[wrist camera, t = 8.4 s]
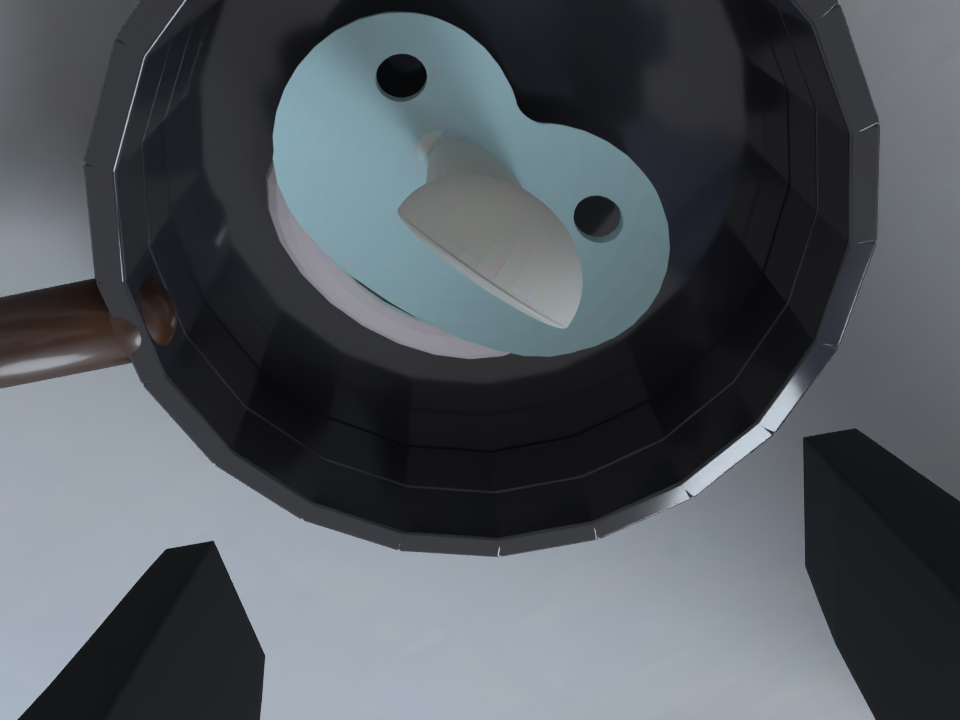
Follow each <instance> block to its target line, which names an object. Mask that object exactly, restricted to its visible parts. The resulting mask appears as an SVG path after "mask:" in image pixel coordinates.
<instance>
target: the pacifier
mask: <svg viewBox="0 0 960 720" xmlns="http://www.w3.org/2000/svg"><path fill="white" fill-rule="evenodd" d="M396 54H409V55H411V56H414V57H416V58H417V59H418V60H420V61H421V62H422V63H423V65H424V67H425V69H426V72H427V80H426V82H425V84H424V86H423V87H422V89H421V90H420V91H419V92H417V93H416V94H414V95H412V96H409V97H404V98H401V97H394V96H391V95H389V94H387V93H386V92H385V91H383V90H382V88H381V87H380V85H379V84H378V81H377V77H376V73H377V69H378V67H379V65H380V64H381V63H382V62H383V61H384V60H385V59H386V58H388V57H390V56H392V55H396ZM273 148H274V152H273V159H272V162H271V164H270V167H269V170H268V173H267V175H266V189H267V209H268V211H269V214H270V217H271V220H272V222H273V225H274V228H275V230H276V233H277V236H278V239H279V241H280V243H281V244H282V246H283V247H284V249H285V250H286V252H287V253H288V254H289V256H290V257H291V259H292V260H293V262H294V263H295V265H296V266H297V268H298V269H299V271H300V272H301V274H302V275H303V276H304V277H305V278H306V279H307V280H308V281H309V282H310V283H311V284H312V285H313V286H314V287H315V288H316V289H317V290H318V291H319V292H320V293H321V294H322V295H323V296H324V297H325V298H326V299H327V300H328V301H329V302H330V303H331V304H333V305H334V306H336V307H337V308H338V309H340V310H341V311H343V312H344V313H345V314H347V315H348V316H350V317H351V318H353V319H354V320H355V321H357V322H358V323H360V324H361V325H362V326H364V327H366V328H368V329H370V330H372V331H374V332H376V333H378V334H380V335H382V336H384V337H386V338H388V339H390V340H392V341H394V342H396V343H398V344H402V345H405V346H408V347H411V348H415V349H418V350H421V351H424V352H428V353H431V354H434V355H441V356H449V357H457V358H465V359H477V358H488V357H499V356H504V355H507V354H510V353H513V354H518V355H522V356H544V357H552V356H557V355H563V354H569V353H574V352H576V351H578V350H582V349H587V348H591V347H595V346H597V345H599V344H601V343H603V342H605V341H607V340H610V339H612V338H615V337H616V336H618V335H619V334H621V333H622V332H623V331H625V330H626V329H628V328H629V327H631V326H632V325H633V324H634V323H635V322H636V321H637V320H638V319H639V318H640V317H641V316H642V315H643V314H644V313H645V312H646V311H647V310H648V308H649V307H650V305H651V304H652V302H653V301H654V299H655V297H656V296H657V294H658V293H659V291H660V288H661V285H662V282H663V279H664V277H665V274H666V271H667V266H668V259H669V252H670V243H669V230H668V222H667V219H666V216H665V213H664V210H663V207H662V204H661V201H660V199H659V196H658V194H657V192H656V190H655V188H654V187H653V185H652V183H651V182H650V181H649V179H648V178H647V177H646V175H645V174H644V173H643V172H642V171H641V170H640V168H639V167H638V166H637V165H636V164H635V163H634V162H633V161H632V160H631V159H630V158H629V157H628V156H627V155H626V154H624V153H623V152H621V151H620V150H619V149H617V148H616V147H614V146H613V145H612V144H610V143H609V142H607V141H605V140H603V139H601V138H599V137H597V136H595V135H593V134H591V133H589V132H587V131H585V130H581V129H577V128H574V127H570V126H567V125H563V124H555V123H544V122H536V121H533V120H531V119H529V118H528V117H526V116H525V115H524V114H523V113H522V112H521V111H520V109H519V108H518V106H517V103H516V99H515V96H514V93H513V90H512V88H511V86H510V84H509V82H508V80H507V79H506V77H505V75H504V73H503V71H502V69H501V68H500V66H499V65H498V64H497V62H496V61H495V60H494V59H493V57H492V56H491V55H490V54H489V52H488V51H487V50H486V49H485V48H484V47H483V46H482V45H481V44H479V43H478V42H477V41H476V40H475V39H473V38H472V37H471V36H470V35H469V34H467V33H466V32H465V31H463V30H462V29H460V28H458V27H456V26H454V25H452V24H450V23H448V22H446V21H443V20H441V19H438V18H436V17H433V16H429V15H426V14H420V13H414V12H401V11H389V12H383V13H378V14H374V15H370V16H366V17H361V18H359V19H357V20H355V21H352V22H350V23H348V24H346V25H344V26H342V27H340V28H338V29H336V30H335V31H334V32H333V33H331V34H330V35H329V36H327V37H326V38H325V39H323V40H322V41H321V42H319V43H318V44H317V45H316V46H315V47H314V48H313V49H312V50H311V51H310V52H309V53H308V54H307V56H306V57H305V58H304V59H303V60H302V61H301V62H300V64H299V65H298V66H297V68H296V70H295V71H294V73H293V75H292V76H291V78H290V80H289V82H288V83H287V85H286V87H285V89H284V91H283V94H282V97H281V100H280V103H279V106H278V108H277V111H276V117H275V124H274V130H273ZM596 195H599V196H603V197H607V198H608V199H610V200H611V201H613V202H614V203H615V204H616V205H617V206H618V207H619V209H620V221H619V224H618V226H617V228H616V229H615V230H614V231H613V232H611V233H610V234H608V235H605V236H602V237H594V236H591V235H587V234H586V233H584V232H582V231H581V230H580V229H579V228H578V227H577V226H576V225H575V222H574V217H573V216H574V211H575V208H576V206H577V205H578V203H579V202H580V201H582V200H583V199H584V198H586V197H589V196H596Z"/></svg>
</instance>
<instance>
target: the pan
mask: <svg viewBox="0 0 960 720" xmlns="http://www.w3.org/2000/svg"><path fill="white" fill-rule="evenodd" d="M389 11H401V12H414V13H420V14H426V15H429V16H433V17H436V18H438V19H441V20H443V21H446V22H448V23H450V24H452V25H454V26H456V27H458V28H460V29H462V30H463V31H465V32H466V33H467V34H469V35H470V36H471V37H472V38H473V39H475V40H476V41H477V42H478V43H479V44H481V45H482V46H483V47H484V48H485V49H486V50H487V51H488V52H489V54H490V55H491V56H492V57H493V59H494V60H495V61H496V62H497V64H498V65H499V66H500V68H501V69H502V71H503V73H504V75H505V77H506V79H507V80H508V82H509V84H510V86H511V88H512V90H513V93H514V96H515V99H516V103H517V106H518V108H519V109H520V111H521V112H522V113H523V114H524V115H525V116H526V117H528V118H529V119H531V120H533V121H536V122H544V123H555V124H563V125H567V126H570V127H574V128H577V129H581V130H585V131H587V132H589V133H591V134H593V135H595V136H597V137H599V138H601V139H603V140H605V141H607V142H609V143H610V144H612V145H613V146H614V147H616V148H617V149H619V150H620V151H621V152H623V153H624V154H626V155H627V156H628V157H629V158H630V159H631V160H632V161H633V162H634V163H635V164H636V165H637V166H638V167H639V168H640V170H641V171H642V172H643V173H644V174H645V175H646V177H647V178H648V179H649V181H650V182H651V183H652V185H653V187H654V188H655V190H656V192H657V194H658V196H659V199H660V201H661V204H662V207H663V210H664V213H665V216H666V219H667V222H668V230H669V243H670V252H669V259H668V266H667V271H666V274H665V277H664V279H663V282H662V285H661V288H660V291H659V293H658V294H657V296H656V297H655V299H654V301H653V302H652V304H651V305H650V307H649V308H648V310H647V311H646V312H645V313H644V314H643V315H642V316H641V317H640V318H639V319H638V320H637V321H636V322H635V323H634V324H633V325H632V326H631V327H629V328H628V329H626V330H625V331H623V332H622V333H621V334H619V335H618V336H616V337H615V338H612V339H610V340H607V341H605V342H603V343H601V344H599V345H597V346H595V347H591V348H587V349H582V350H578V351H576V352H574V353H569V354H563V355H557V356H552V357H544V356H522V355H518V354H513V353H510V354H507V355H504V356H499V357H488V358H477V359H465V358H457V357H449V356H441V355H434V354H431V353H428V352H424V351H421V350H418V349H415V348H411V347H408V346H405V345H402V344H398V343H396V342H394V341H392V340H390V339H388V338H386V337H384V336H382V335H380V334H378V333H376V332H374V331H372V330H370V329H368V328H366V327H364V326H362V325H361V324H360V323H358V322H357V321H355V320H354V319H353V318H351V317H350V316H348V315H347V314H345V313H344V312H343V311H341V310H340V309H338V308H337V307H336V306H334V305H333V304H331V303H330V302H329V301H328V300H327V299H326V298H325V297H324V296H323V295H322V294H321V293H320V292H319V291H318V290H317V289H316V288H315V287H314V286H313V285H312V284H311V283H310V282H309V281H308V280H307V279H306V278H305V277H304V276H303V275H302V274H301V272H300V271H299V269H298V268H297V266H296V265H295V263H294V262H293V260H292V259H291V257H290V256H289V254H288V253H287V252H286V250H285V249H284V247H283V246H282V244H281V243H280V241H279V239H278V236H277V233H276V230H275V228H274V225H273V222H272V220H271V217H270V214H269V211H268V209H267V189H266V175H267V173H268V170H269V167H270V164H271V162H272V159H273V152H274V148H273V130H274V124H275V117H276V111H277V108H278V106H279V103H280V100H281V97H282V94H283V91H284V89H285V87H286V85H287V83H288V82H289V80H290V78H291V76H292V75H293V73H294V71H295V70H296V68H297V66H298V65H299V64H300V62H301V61H302V60H303V59H304V58H305V57H306V56H307V54H308V53H309V52H310V51H311V50H312V49H313V48H314V47H315V46H316V45H317V44H318V43H319V42H321V41H322V40H323V39H325V38H326V37H327V36H329V35H330V34H331V33H333V32H334V31H335V30H336V29H338V28H340V27H342V26H344V25H346V24H348V23H350V22H352V21H355V20H357V19H359V18H361V17H366V16H370V15H374V14H378V13H383V12H389ZM376 77H377V81H378V84H379V85H380V87H381V88H382V90H383V91H385V92H386V93H387V94H389V95H391V96H394V97H401V98H404V97H409V96H412V95H414V94H416V93H417V92H419V91H420V90H421V89H422V87H423V86H424V84H425V82H426V80H427V72H426V69H425V67H424V65H423V63H422V62H421V61H420V60H418V59H417V58H416V57H414V56H411V55H409V54H396V55H392V56H390V57H388V58H386V59H385V60H384V61H383V62H382V63H381V64H380V65H379V67H378V69H377V73H376ZM878 123H879V118H878V115H877V112H876V109H875V106H874V103H873V100H872V97H871V94H870V91H869V88H868V85H867V82H866V79H865V76H864V73H863V70H862V67H861V64H860V61H859V58H858V55H857V52H856V49H855V46H854V43H853V40H852V37H851V34H850V31H849V28H848V25H847V22H846V19H845V16H844V13H843V10H842V7H841V6H840V5H839V4H838V0H141V1H140V3H139V4H138V5H137V7H136V8H135V10H134V11H133V13H132V14H131V15H130V17H129V18H128V20H127V21H126V23H125V24H124V25H123V27H122V28H121V30H120V31H119V33H118V34H117V39H116V40H115V41H114V44H113V48H112V52H111V56H110V60H109V64H108V68H107V72H106V75H105V79H104V83H103V87H102V91H101V95H100V99H99V103H98V107H97V111H96V115H95V119H94V123H93V127H92V131H91V134H90V138H89V142H88V146H87V150H86V154H85V158H84V161H85V164H84V174H85V184H86V194H87V204H88V213H89V223H90V233H91V243H92V253H93V263H94V273H95V280H96V282H97V287H98V289H99V291H100V293H101V296H102V298H103V300H104V302H105V304H106V306H107V309H108V311H109V313H110V315H111V316H113V317H120V318H124V319H126V320H128V321H130V322H132V323H133V324H134V325H135V326H136V328H137V329H138V331H139V332H140V336H141V344H140V346H139V348H138V349H137V350H136V351H135V352H133V353H131V354H130V355H129V357H130V359H131V361H132V363H133V365H134V368H135V370H136V372H137V374H138V376H139V379H140V381H141V383H142V384H144V387H145V388H146V390H147V391H148V392H149V393H150V394H151V395H152V396H153V397H154V398H155V400H156V401H157V402H158V403H159V404H160V405H161V406H162V407H163V408H164V410H165V411H166V412H167V413H168V414H169V415H170V416H171V417H172V418H173V420H174V421H175V422H176V423H177V424H178V425H179V426H180V427H181V429H182V430H183V431H184V432H185V433H186V434H187V435H188V436H189V437H190V439H191V440H192V441H193V442H194V443H195V444H196V445H197V446H198V447H199V449H200V450H201V451H202V452H203V453H204V454H205V455H206V456H207V457H208V459H209V460H210V461H211V462H212V463H215V465H216V466H217V467H219V468H220V469H222V470H223V471H225V472H226V473H228V474H230V475H231V476H233V477H234V478H236V479H238V480H239V481H241V482H242V483H244V484H245V485H247V486H249V487H250V488H252V489H253V490H255V491H257V492H258V493H260V494H261V495H263V496H265V497H266V498H268V499H269V500H271V501H272V502H274V503H276V504H277V505H279V506H280V507H282V508H284V509H285V510H287V511H288V512H290V513H292V514H293V515H295V516H296V517H298V518H299V519H302V518H303V520H304V521H307V522H310V523H313V524H316V525H319V526H322V527H326V528H329V529H332V530H335V531H338V532H341V533H345V534H348V535H351V536H354V537H357V538H360V539H364V540H367V541H370V542H373V543H376V544H379V545H383V546H386V547H389V548H392V549H395V550H398V549H400V551H409V552H426V553H442V554H458V555H474V556H490V557H499V555H500V556H508V555H513V554H519V553H525V552H530V551H536V550H542V549H547V548H553V547H559V546H564V545H570V544H576V543H581V542H587V541H592V540H597V539H598V537H599V538H603V537H606V536H608V535H610V534H612V533H615V532H617V531H619V530H621V529H624V528H626V527H628V526H630V525H633V524H635V523H637V522H640V521H642V520H644V519H646V518H649V517H651V516H653V515H655V514H658V513H660V512H662V511H665V510H667V509H669V508H671V507H674V506H676V505H678V504H680V503H683V502H685V501H687V500H690V499H691V497H695V496H696V495H697V494H699V493H700V492H701V491H703V490H704V489H705V488H706V487H708V486H709V485H710V484H712V483H713V482H714V481H715V480H717V479H718V478H719V477H720V476H722V475H723V474H724V473H726V472H727V471H728V470H729V469H731V468H732V467H733V466H735V465H736V464H737V463H738V462H740V461H741V460H742V459H743V458H745V457H746V456H747V455H749V454H750V453H751V452H752V451H754V450H755V449H756V448H758V447H759V446H760V445H761V444H763V443H764V442H765V441H766V440H768V439H769V438H770V437H772V436H773V434H774V433H775V432H776V431H777V430H778V429H779V427H780V426H781V425H782V423H783V422H784V421H785V419H786V418H787V417H788V415H789V414H790V413H791V411H792V410H793V409H794V407H795V406H796V405H797V403H798V402H799V401H800V399H801V398H802V397H803V395H804V394H805V392H806V391H807V390H808V388H809V387H810V386H811V384H812V383H813V382H814V380H815V379H816V378H817V376H818V375H819V374H820V372H821V371H822V370H823V368H824V367H825V366H826V364H827V363H828V362H829V360H830V359H831V357H832V356H833V355H834V353H835V352H836V351H837V346H839V345H840V343H841V340H842V337H843V335H844V332H845V329H846V326H847V324H848V321H849V318H850V315H851V312H852V310H853V307H854V304H855V301H856V299H857V296H858V293H859V290H860V288H861V285H862V282H863V279H864V277H865V274H866V271H867V268H868V265H869V263H870V260H871V257H872V254H873V252H874V249H875V246H876V242H875V241H876V240H877V219H878V180H879V142H880V126H879V124H878ZM573 217H574V222H575V225H576V226H577V227H578V228H579V229H580V230H581V231H582V232H584V233H586V234H587V235H591V236H594V237H602V236H605V235H608V234H610V233H611V232H613V231H614V230H615V229H616V228H617V226H618V224H619V221H620V209H619V207H618V206H617V205H616V204H615V203H614V202H613V201H611V200H610V199H608V198H607V197H603V196H599V195H596V196H589V197H586V198H584V199H583V200H582V201H580V202H579V203H578V205H577V206H576V208H575V211H574V216H573ZM147 278H152V279H154V280H156V281H158V282H159V283H160V284H161V285H162V286H163V287H164V288H166V289H167V291H168V292H169V294H170V295H171V297H172V298H173V300H174V303H175V305H176V309H177V326H176V330H175V333H174V335H173V338H172V339H171V341H170V342H169V344H168V345H166V346H161V345H159V344H158V343H156V341H155V340H154V339H153V338H152V336H151V334H150V332H149V330H148V328H147V326H146V323H145V320H144V317H143V312H142V307H141V288H142V284H143V282H144V281H145V280H146V279H147Z"/></svg>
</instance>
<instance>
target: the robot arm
mask: <svg viewBox="0 0 960 720" xmlns="http://www.w3.org/2000/svg"><path fill="white" fill-rule="evenodd" d="M803 453H804V517H805V567H806V569H807V572H808V574H809V577H810V580H811V582H812V585H813V588H814V590H815V593H816V596H817V598H818V601H819V604H820V606H821V609H822V611H823V614H824V616H825V619H826V621H827V624H828V626H829V629H830V631H831V634H832V636H833V639H834V641H835V644H836V645H837V647H838V649H839V651H840V653H841V655H842V657H843V659H844V661H845V663H846V665H847V667H848V668H849V670H850V672H851V674H852V676H853V678H854V680H855V682H856V683H857V685H858V687H859V689H860V691H861V693H862V695H863V697H864V699H865V700H866V702H867V704H868V706H869V708H870V710H871V712H872V713H873V715H874V717H875V719H876V720H960V501H959V500H957V499H956V498H954V497H953V496H951V495H950V494H948V493H947V492H945V491H944V490H943V489H941V488H940V487H938V486H937V485H935V484H934V483H933V482H931V481H930V480H928V479H927V478H925V477H924V476H923V475H921V474H920V473H918V472H917V471H915V470H914V469H913V468H911V467H910V466H908V465H907V464H906V463H904V462H903V461H901V460H900V459H899V458H897V457H896V456H894V455H893V454H891V453H890V452H889V451H887V450H886V449H884V448H883V447H882V446H880V445H879V444H877V443H876V442H875V441H873V440H872V439H870V438H869V437H867V436H866V435H865V434H863V433H862V432H860V431H859V430H857V429H856V428H855V429H849V430H843V431H838V432H832V433H826V434H821V435H815V436H809V437H803ZM264 663H265V655H264V652H263V650H262V648H261V646H260V643H259V641H258V639H257V637H256V634H255V632H254V630H253V628H252V626H251V623H250V621H249V619H248V617H247V614H246V612H245V610H244V608H243V605H242V603H241V601H240V599H239V597H238V594H237V592H236V590H235V588H234V585H233V583H232V581H231V579H230V576H229V574H228V572H227V570H226V567H225V565H224V563H223V561H222V559H221V556H220V554H219V552H218V550H217V547H216V545H215V543H214V541H210V542H204V543H199V544H193V545H187V546H182V547H176V548H170V549H166V550H165V551H164V552H163V553H162V554H161V555H160V556H159V558H158V559H157V560H156V561H155V562H154V563H153V564H152V565H151V566H150V568H149V569H148V570H147V571H146V572H145V573H144V574H143V576H142V577H141V578H140V579H139V580H138V581H137V583H136V584H135V585H134V586H133V587H132V589H131V590H130V591H129V592H128V593H127V595H126V596H125V597H124V598H123V599H122V601H121V602H120V603H119V604H118V605H117V606H116V608H115V609H114V610H113V611H112V612H111V614H110V615H109V616H108V617H107V618H106V620H105V621H104V622H103V623H102V624H101V626H100V627H99V628H98V629H97V630H96V631H95V633H94V634H93V635H92V636H91V637H90V638H89V640H88V641H87V642H86V643H85V644H84V645H83V647H82V648H81V649H80V650H79V651H78V652H77V654H76V655H75V656H74V657H73V658H72V659H71V661H70V662H69V663H68V664H67V665H66V666H65V668H64V669H63V670H62V671H61V672H60V673H59V675H58V676H57V677H56V678H55V679H54V680H53V682H52V683H51V684H50V685H49V686H48V687H47V688H46V690H45V691H44V692H43V693H42V694H41V695H40V696H39V697H38V698H37V699H36V700H35V701H34V703H33V704H32V705H31V706H30V707H29V708H28V709H27V710H26V711H25V712H24V713H23V714H22V715H21V717H20V718H19V719H18V720H260V712H261V702H262V690H263V676H264Z"/></svg>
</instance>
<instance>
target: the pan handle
mask: <svg viewBox="0 0 960 720" xmlns="http://www.w3.org/2000/svg"><path fill="white" fill-rule="evenodd" d="M141 307H142V312H143V317H144V320H145V323H146V326H147V328H148V330H149V332H150V334H151V336H152V338H153V339H154V340H155V341H156V343H158V344H159V345H161V346H166V345H168V344H169V342H170V341H171V339H172V338H173V335H174V333H175V330H176V326H177V309H176V305H175V303H174V300H173V298H172V297H171V295H170V294H169V292H168V291H167V289H166V288H164V287H163V286H162V285H161V284H160V283H159V282H158V281H156V280H154V279H152V278H147V279H146V280H145V281H144V282H143V284H142V288H141ZM140 344H141V336H140V332H139V331H138V329H137V328H136V326H135V325H134V324H133V323H132V322H130V321H128V320H126V319H124V318H120V317H113V316H111V315H110V313H109V311H108V309H107V306H106V304H105V302H104V300H103V298H102V296H101V293H100V291H99V289H98V287H97V282H96V280H95V278H94V279H89V280H84V281H79V282H74V283H69V284H64V285H60V286H55V287H50V288H45V289H40V290H35V291H30V292H25V293H20V294H15V295H10V296H5V297H0V389H1V388H6V387H11V386H16V385H21V384H26V383H31V382H36V381H41V380H47V379H52V378H57V377H62V376H67V375H72V374H77V373H82V372H87V371H92V370H98V369H103V368H108V367H113V366H118V365H123V364H128V363H132V361H131V359H130V357H129V355H130V354H131V353H133V352H135V351H136V350H137V349H138V348H139V346H140Z"/></svg>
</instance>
